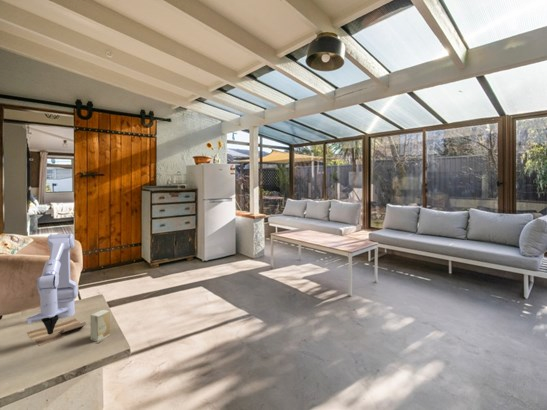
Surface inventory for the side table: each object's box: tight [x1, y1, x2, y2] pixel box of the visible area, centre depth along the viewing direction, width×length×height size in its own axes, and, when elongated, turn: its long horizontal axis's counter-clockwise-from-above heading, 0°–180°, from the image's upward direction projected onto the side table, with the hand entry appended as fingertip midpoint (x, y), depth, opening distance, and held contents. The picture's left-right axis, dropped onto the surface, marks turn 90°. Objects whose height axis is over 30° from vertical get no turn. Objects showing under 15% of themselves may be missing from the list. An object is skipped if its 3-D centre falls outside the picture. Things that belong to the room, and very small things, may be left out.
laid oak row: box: [26, 317, 81, 341], centre depth 132 cm, size 10×18×1 cm, turn 141°
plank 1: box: [34, 332, 64, 347], centre depth 123 cm, size 7×8×1 cm
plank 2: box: [59, 321, 87, 335], centre depth 130 cm, size 7×8×1 cm
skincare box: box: [90, 309, 111, 344], centre depth 125 cm, size 6×4×12 cm
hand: (50, 333), depth 122 cm, fingers closed
